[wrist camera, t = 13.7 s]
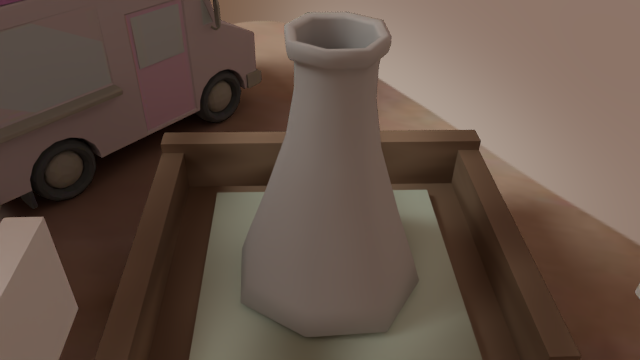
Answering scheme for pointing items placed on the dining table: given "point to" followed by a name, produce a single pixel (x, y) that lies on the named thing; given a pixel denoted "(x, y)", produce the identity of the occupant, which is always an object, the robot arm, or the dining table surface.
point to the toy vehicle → (107, 82)
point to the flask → (330, 192)
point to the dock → (338, 350)
